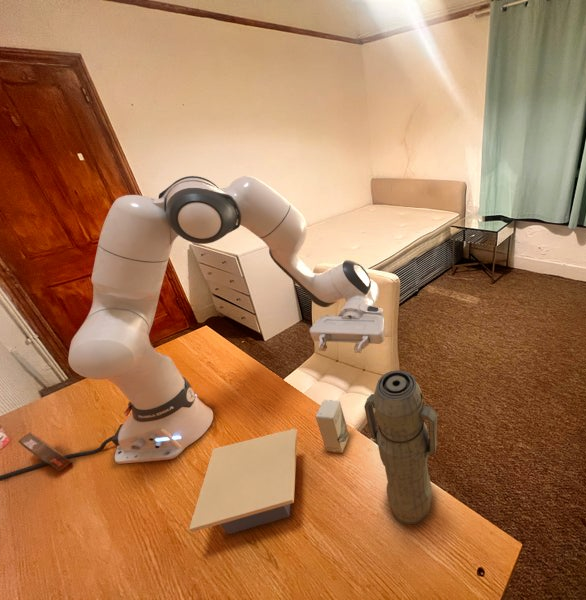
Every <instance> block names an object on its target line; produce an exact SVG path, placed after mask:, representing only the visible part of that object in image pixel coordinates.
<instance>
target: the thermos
mask: <svg viewBox="0 0 586 600" xmlns="http://www.w3.org/2000/svg"><path fill="white" fill-rule="evenodd" d="M423 399H424V397H423V392H422V389H421V387H420V385H419V384H418V382H417V380H416V378H415V377H414V376H413V374H411V373H410V372H408V371H406V370H399V369H397V370H391V371H388V372H386V373H384V374H382V375H381V376H380V378H379V379H378V380H377V383H376V386H375V389H374V393H371V394H369V396H368V397H367V398H366V401H365V403H364V405H363V406H364V412H365V416H366V421H367V426H368V432H369V435H370V437H371V440H375V441H376V445H377V448H378V453H379V457H380V460H381V463H382V465H383V467H384V469H385V475H386V481H387V484H386V495H387V501H388V504H389V506H390V507H389V508H390V511H391V513H392V515H393V516H394V517H395V518H396V520H397V521H399V522H401V523H402V524H404V525H405V524H406V525H416V524H418V523H420V522H422V521H424V520H425V518H426V517H427V516H428V515H429V513H430V510H431V509H432V508H431V507H432V495H433V494H432V493H433V492H432V490H433V489H432V483H431V477H430V475H429V470H428V459H429V456H431V455H434V454H436V451H437V446H438V442H437V440H438V439H437V433H438V432H437V431H438V429H437V428H438V413H437V412H436V411H435V409H434V408H433V407H432V406H431V405H427V404H425V402H424V400H423ZM374 410H375V411H374ZM375 416H376V417H375ZM424 419H425V420H427V421H428V426H427V424H426V422H425V420H424ZM376 421H377V422H376ZM377 424H378V426H377ZM377 427H378V428H377Z"/></svg>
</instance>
